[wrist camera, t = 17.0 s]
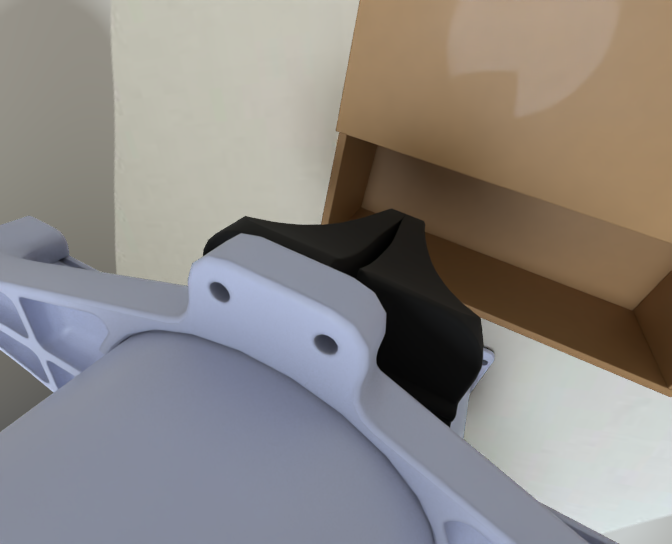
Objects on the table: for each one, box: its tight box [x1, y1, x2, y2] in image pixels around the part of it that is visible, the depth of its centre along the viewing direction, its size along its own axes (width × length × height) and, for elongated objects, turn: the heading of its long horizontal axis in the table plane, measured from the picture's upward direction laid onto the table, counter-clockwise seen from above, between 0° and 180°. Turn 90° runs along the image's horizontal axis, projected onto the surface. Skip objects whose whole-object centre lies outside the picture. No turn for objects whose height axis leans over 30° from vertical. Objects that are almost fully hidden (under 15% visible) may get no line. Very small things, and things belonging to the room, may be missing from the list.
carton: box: [321, 132, 672, 397], centre depth 16 cm, size 18×13×6 cm
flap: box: [336, 0, 672, 244], centre depth 11 cm, size 18×6×1 cm, turn 78°
